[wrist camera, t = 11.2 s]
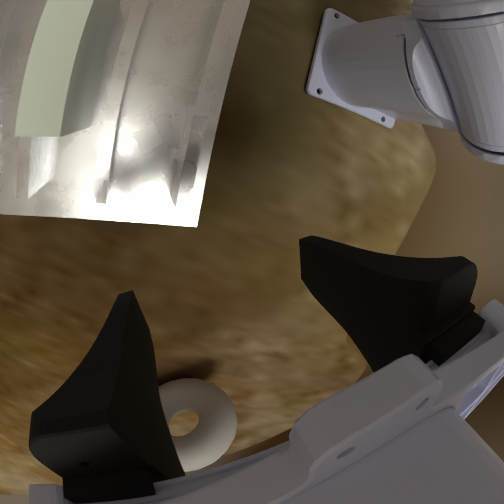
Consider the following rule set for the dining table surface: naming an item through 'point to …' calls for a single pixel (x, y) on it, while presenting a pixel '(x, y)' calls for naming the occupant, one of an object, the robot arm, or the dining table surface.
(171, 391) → the donut
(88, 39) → the grey rectangular block
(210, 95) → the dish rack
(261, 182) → the dining table surface
